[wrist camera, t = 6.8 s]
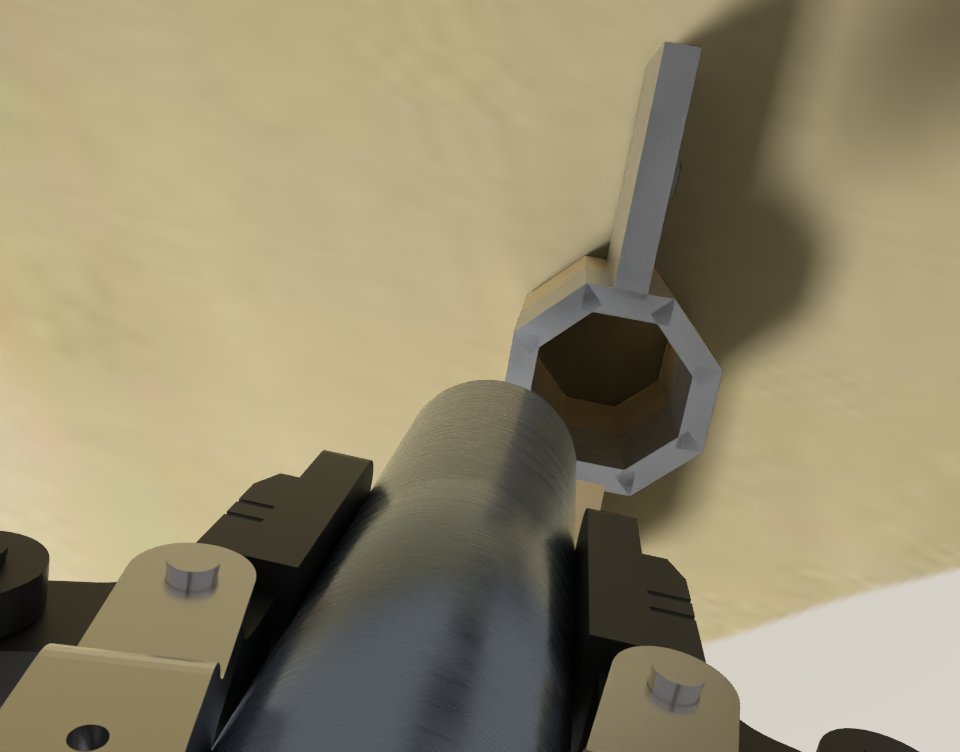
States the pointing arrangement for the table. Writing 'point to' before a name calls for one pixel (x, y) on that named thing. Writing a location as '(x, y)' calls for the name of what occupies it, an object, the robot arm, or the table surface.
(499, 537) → the pin
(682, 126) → the hinge
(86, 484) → the table surface
